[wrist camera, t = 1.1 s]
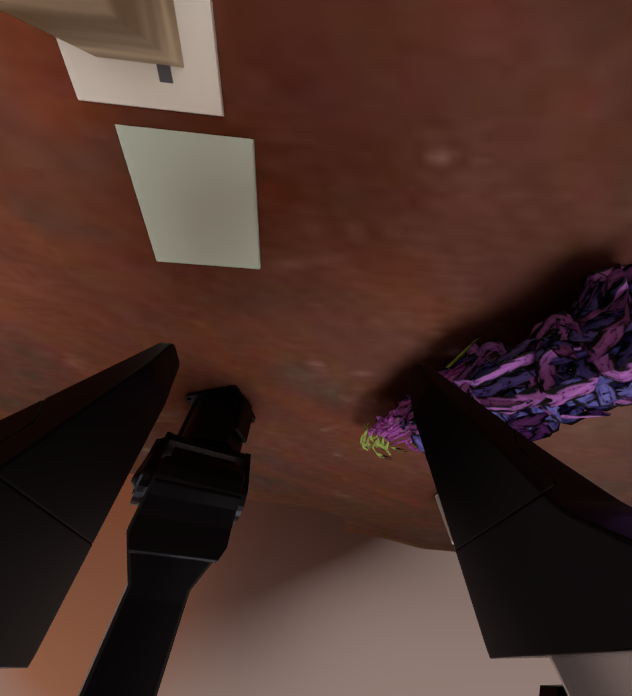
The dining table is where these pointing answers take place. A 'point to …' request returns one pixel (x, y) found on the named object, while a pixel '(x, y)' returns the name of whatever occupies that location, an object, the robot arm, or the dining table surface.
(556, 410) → the decorative ornament
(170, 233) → the felt pad
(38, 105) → the dining table surface
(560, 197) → the dining table surface
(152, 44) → the pillar
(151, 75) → the tile
